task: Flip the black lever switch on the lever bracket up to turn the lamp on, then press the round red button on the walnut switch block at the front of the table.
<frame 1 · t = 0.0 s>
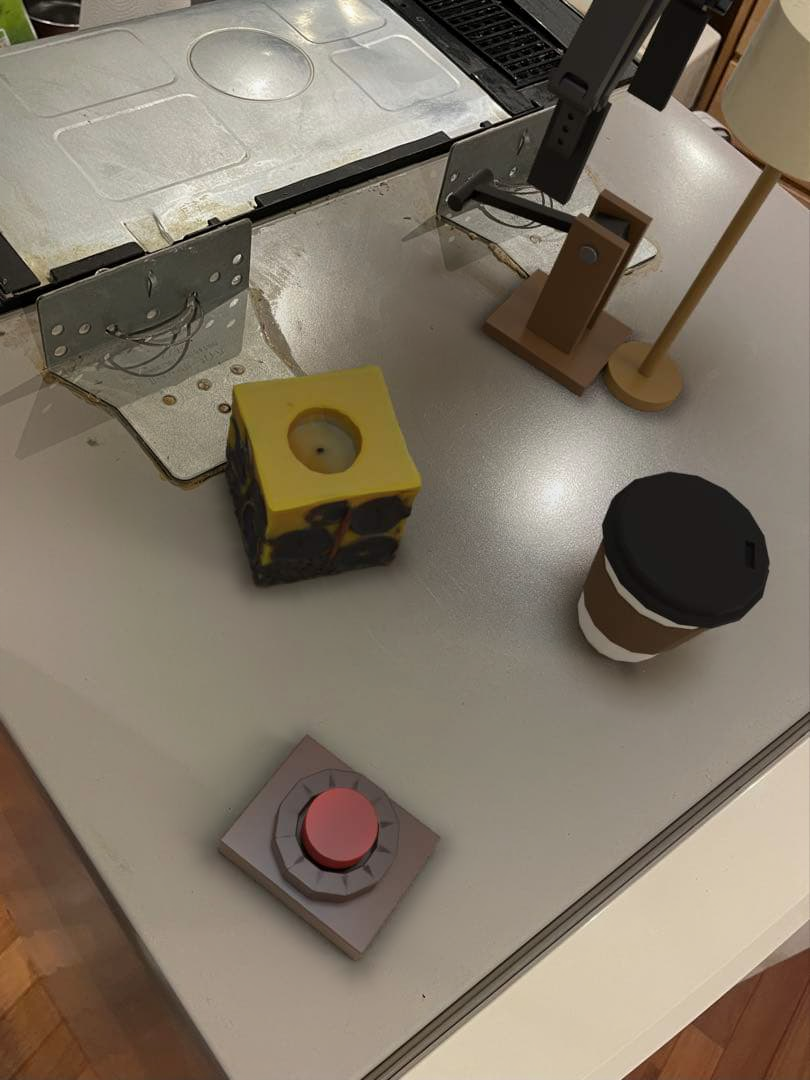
hand: (599, 143, 62), 22 cm above the counter, tool pointing down, fingers open, 13 cm apart
switch block: (327, 848, 58), on the counter
lamp switch: (540, 213, 77), point 10 cm above the counter, hinge at -15.0°
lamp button: (339, 827, 54), point 4 cm above the counter, slide at 0.1 cm
coffee cup: (617, 624, 71), on the counter
candle: (307, 517, 70), on the counter
lever bracket: (556, 335, 85), on the counter
lamp: (639, 380, 84), on the counter
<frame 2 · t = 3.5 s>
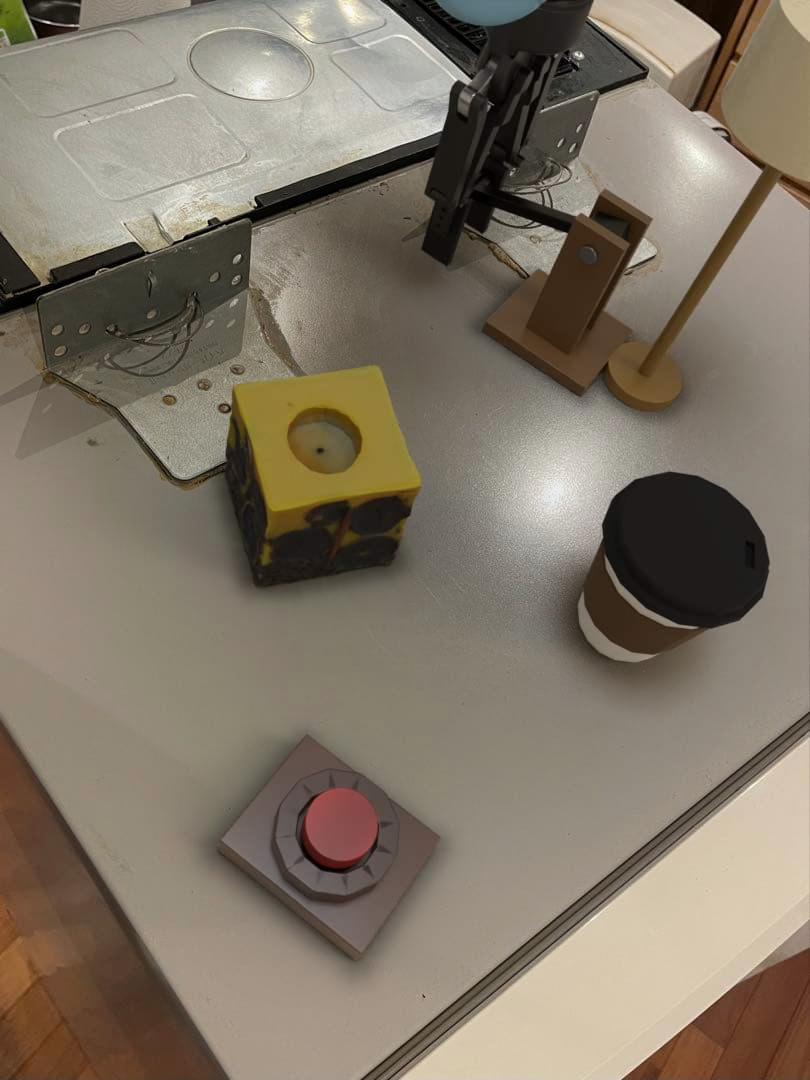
hand: (454, 239, 84), 3 cm above the counter, tool pointing down, fingers closed on lamp switch, 5 cm apart
lamp switch: (540, 213, 77), point 10 cm above the counter, hinge at -15.0°, touching gripper
everything else where it was.
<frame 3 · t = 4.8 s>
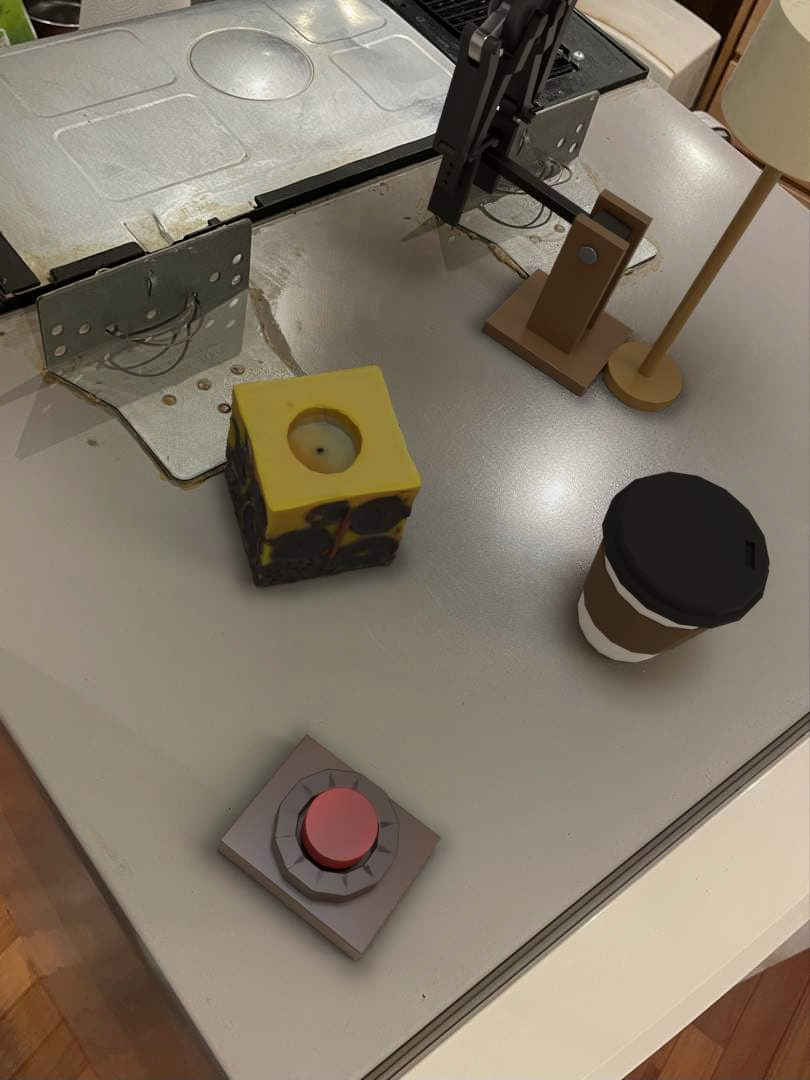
hand: (461, 199, 81), 7 cm above the counter, tool pointing down, fingers closed on lamp switch, 5 cm apart
lamp switch: (545, 194, 76), point 11 cm above the counter, hinge at 2.7°, touching gripper
everything else where it was.
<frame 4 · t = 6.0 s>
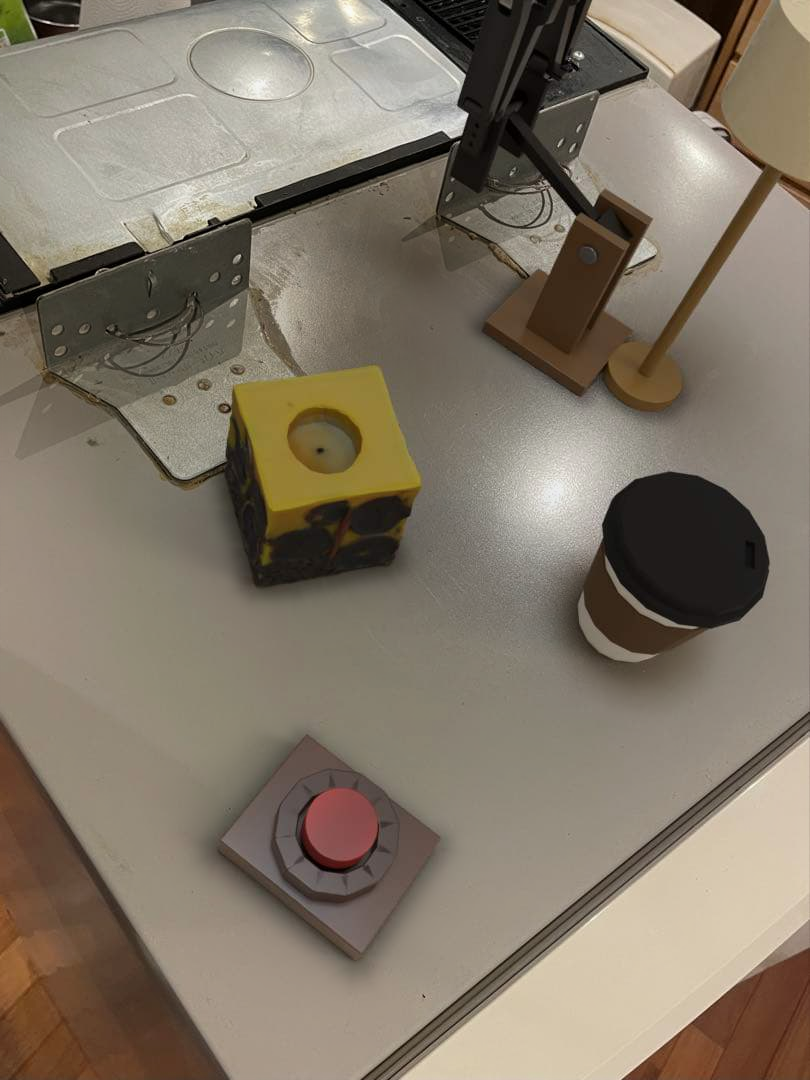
hand: (487, 164, 77), 11 cm above the counter, tool pointing down, fingers open, 5 cm apart
lamp switch: (557, 178, 74), point 13 cm above the counter, hinge at 21.4°
everything else where it was.
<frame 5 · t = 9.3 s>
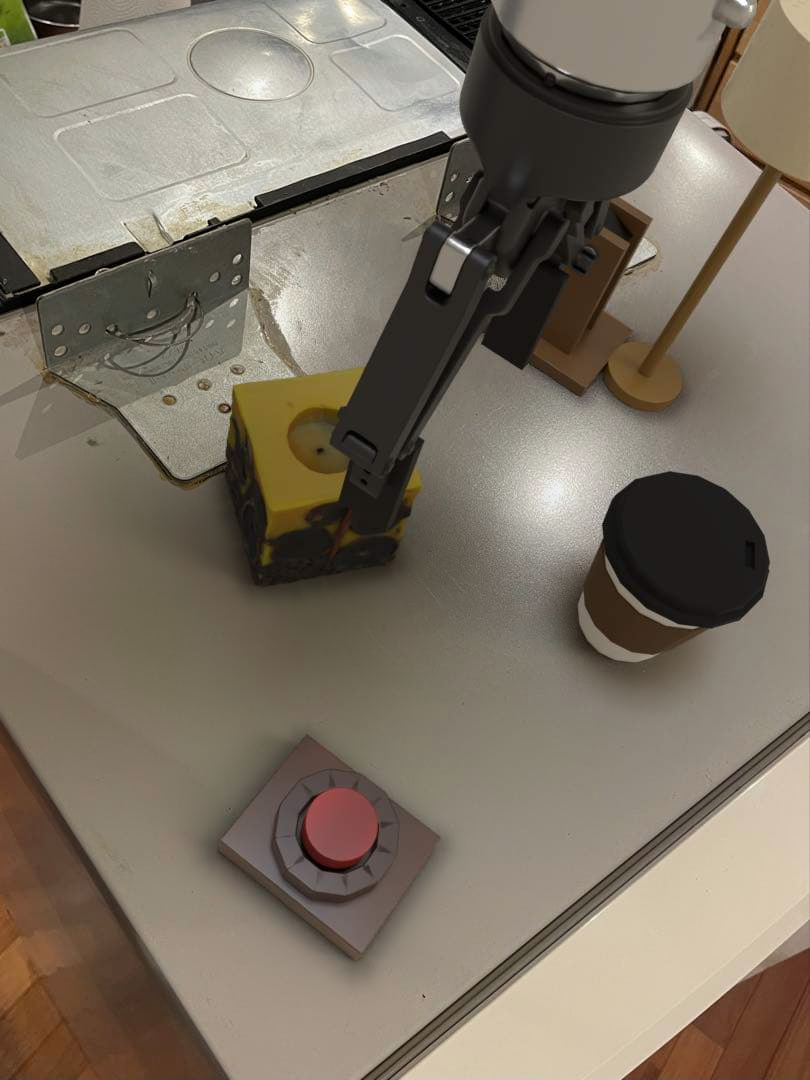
hand: (440, 427, 50), 20 cm above the counter, tool pointing down, fingers open, 13 cm apart
nothing on the counter moved.
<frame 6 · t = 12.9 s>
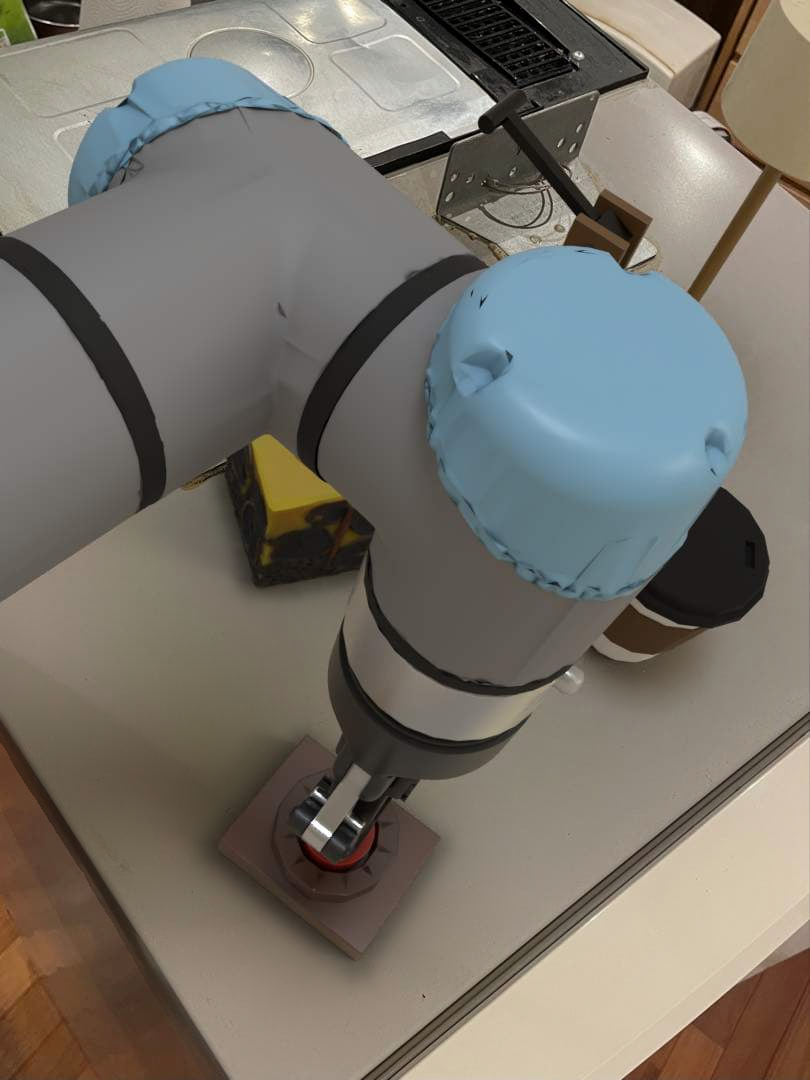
hand: (341, 827, 54), 5 cm above the counter, tool pointing down, fingers closed
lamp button: (337, 831, 55), point 4 cm above the counter, slide at -0.8 cm, touching gripper
everything else where it was.
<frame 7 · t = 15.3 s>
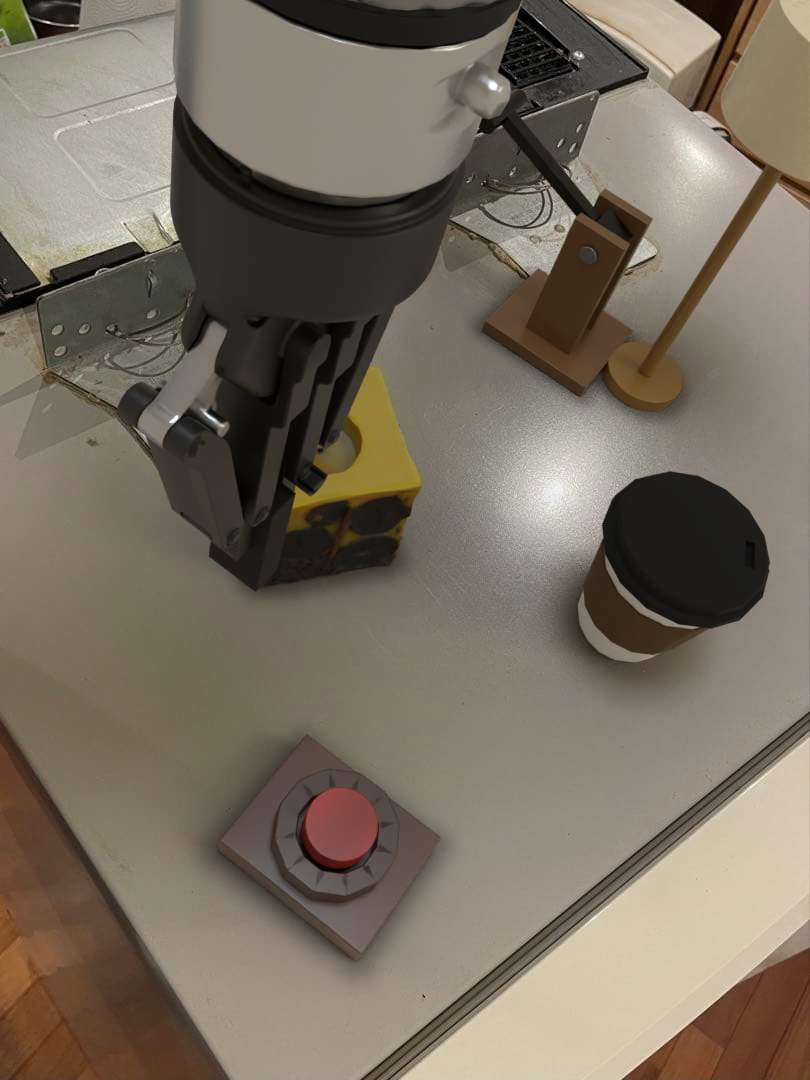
hand: (242, 563, 44), 20 cm above the counter, tool pointing down, fingers closed
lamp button: (339, 827, 54), point 4 cm above the counter, slide at 0.1 cm
everything else where it was.
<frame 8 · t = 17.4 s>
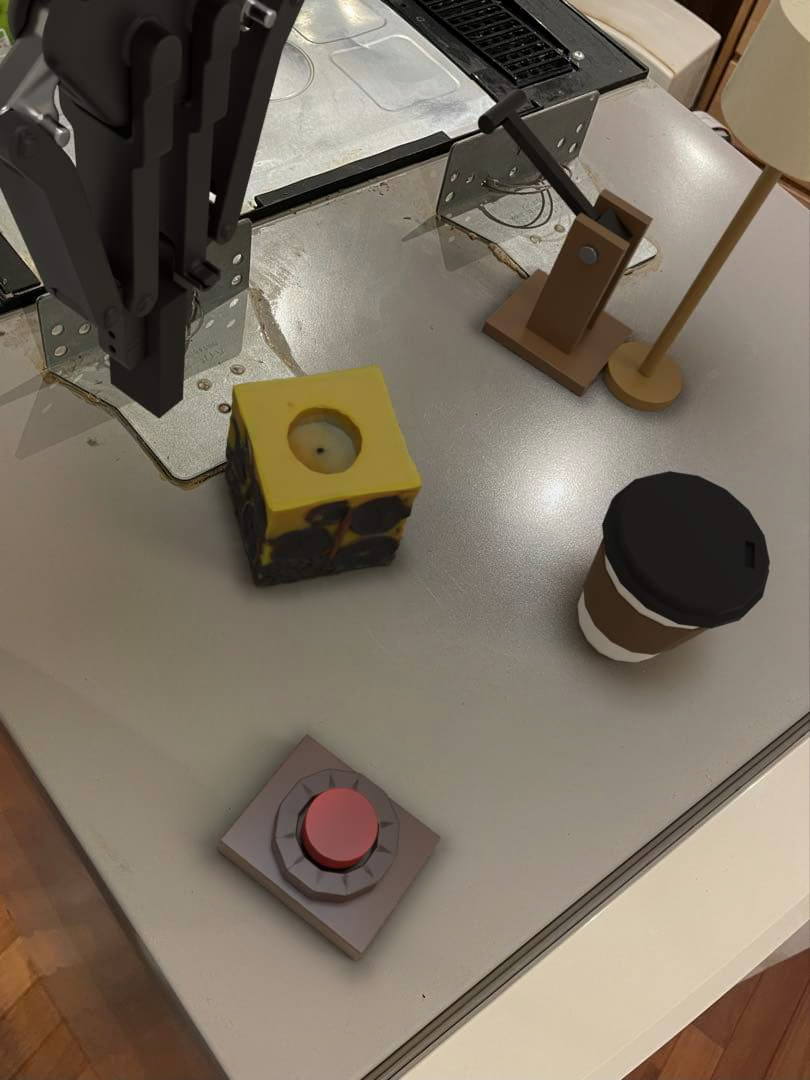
hand: (147, 391, 42), 24 cm above the counter, tool pointing down, fingers closed
nothing on the counter moved.
at the end: lamp switch at +21° (first picture: -15°); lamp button pushed in 1.0 cm at the most during the clip, back to where it started at the end; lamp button slide at 0.1 cm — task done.
